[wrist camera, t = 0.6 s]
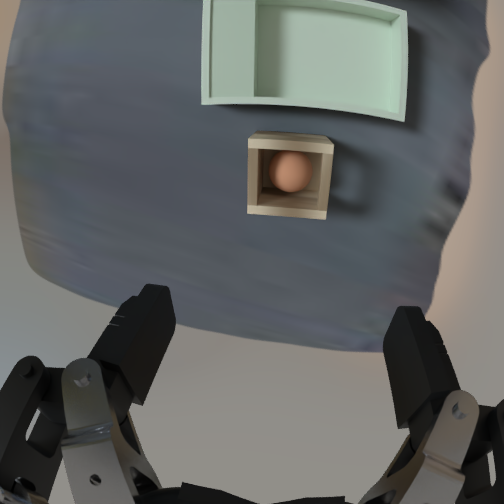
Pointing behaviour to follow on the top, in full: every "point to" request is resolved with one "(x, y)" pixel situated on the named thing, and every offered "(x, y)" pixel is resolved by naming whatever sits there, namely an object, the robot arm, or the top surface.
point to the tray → (306, 55)
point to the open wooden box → (281, 202)
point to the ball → (290, 170)
